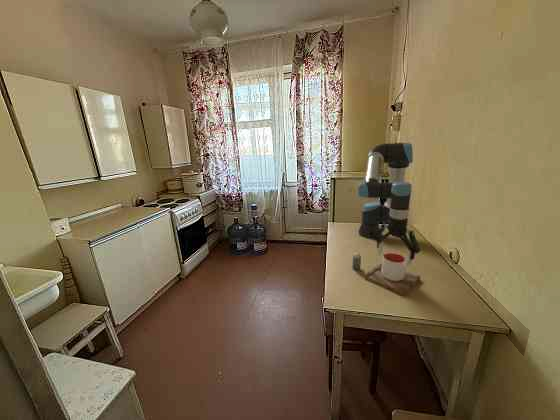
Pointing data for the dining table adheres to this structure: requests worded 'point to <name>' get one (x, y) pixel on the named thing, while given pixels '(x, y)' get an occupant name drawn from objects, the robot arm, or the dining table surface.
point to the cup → (393, 266)
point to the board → (394, 286)
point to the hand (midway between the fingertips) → (393, 259)
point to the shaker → (356, 261)
